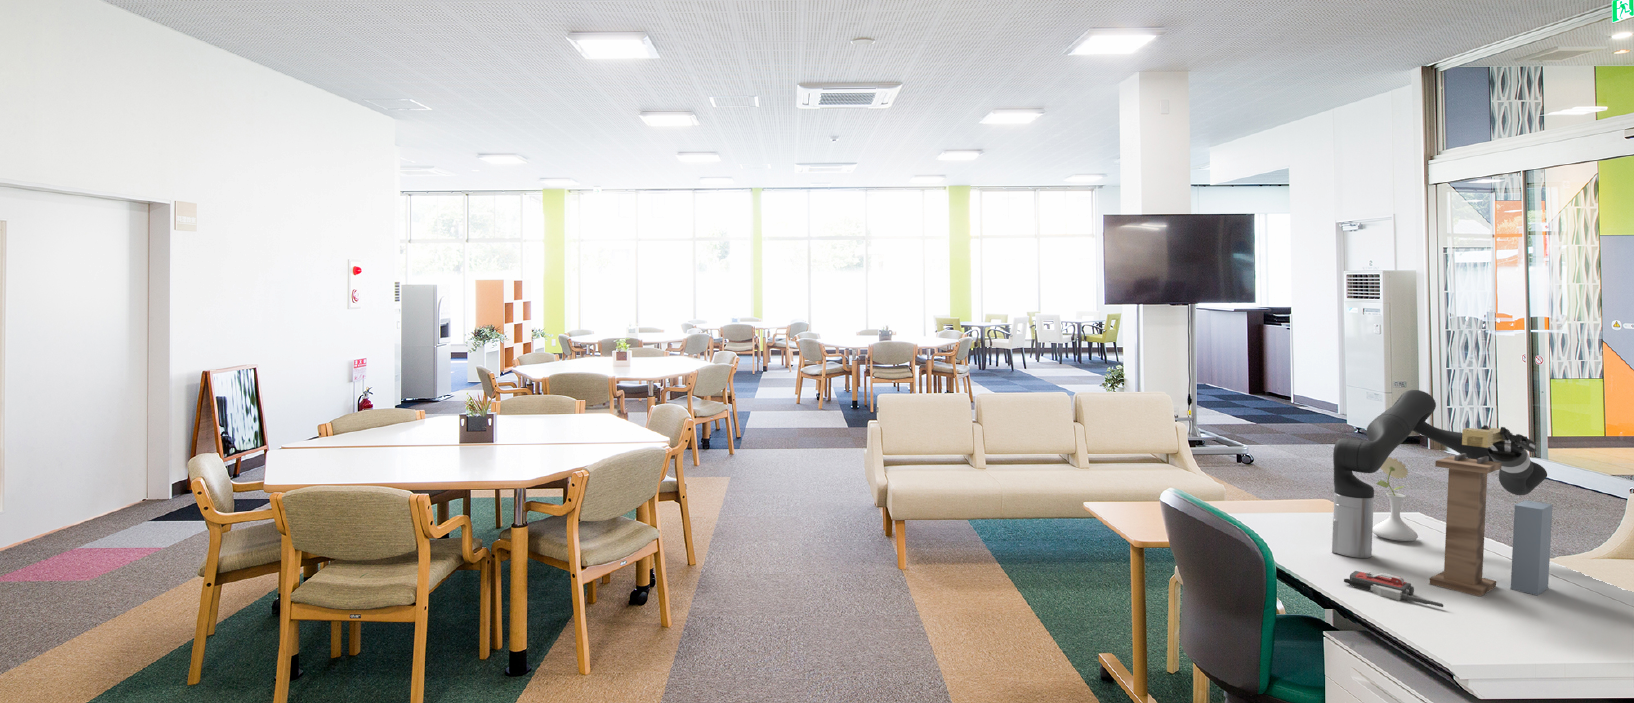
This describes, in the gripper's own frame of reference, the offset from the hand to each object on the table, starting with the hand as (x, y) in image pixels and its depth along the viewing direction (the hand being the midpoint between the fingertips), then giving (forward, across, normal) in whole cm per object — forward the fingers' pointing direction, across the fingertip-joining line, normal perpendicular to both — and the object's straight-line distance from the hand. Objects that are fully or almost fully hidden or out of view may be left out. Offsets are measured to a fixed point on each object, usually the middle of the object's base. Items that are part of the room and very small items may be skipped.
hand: (1493, 429), depth 194 cm
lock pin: (+2, 0, +5) cm, 5 cm away
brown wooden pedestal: (-3, 0, +43) cm, 43 cm away
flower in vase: (-32, -26, +27) cm, 49 cm away
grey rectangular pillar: (-13, +10, +37) cm, 41 cm away
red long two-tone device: (+16, -7, +54) cm, 57 cm away
